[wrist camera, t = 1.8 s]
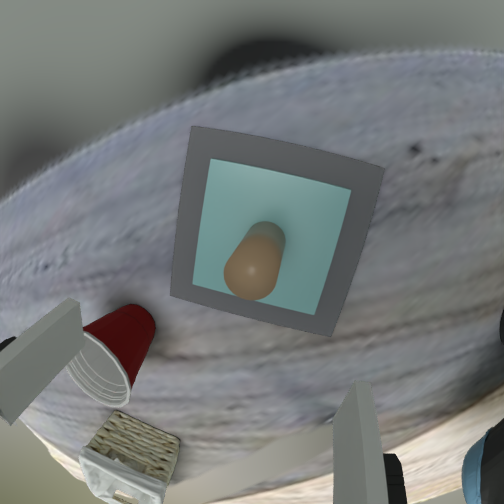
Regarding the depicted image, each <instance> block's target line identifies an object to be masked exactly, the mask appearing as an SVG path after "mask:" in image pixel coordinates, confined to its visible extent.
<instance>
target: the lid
mask: <svg viewBox="0 0 504 504" xmlns="http://www.w3.org/2000/svg"><path fill="white" fill-rule="evenodd" d="M350 194H351V189H348V188H345V187H341V186H337V185H333V184H330V183H326V182H322V181H318V180H314V179H310V178H306V177H302V176H297V175H293V174H289V173H284V172H280V171H276V170H271V169H266V168H262V167H257V166H252V165H247V164H242V163H237V162H232V161H226V160H221V159H215V158H211V160H210V166H209V172H208V178H207V184H206V190H205V196H204V203H203V209H202V216H201V223H200V230H199V237H198V244H197V251H196V259H195V267H194V275H193V283H192V284H194V285H197V286H201V287H205V288H208V289H212V290H216V291H219V292H223V293H227V294H231V295H234V296H238V297H240V298H242V299H245V300H254V301H258V302H262V303H266V304H270V305H274V306H278V307H282V308H286V309H290V310H294V311H299V312H303V313H307V314H311V315H314V314H315V311H316V308H317V305H318V302H319V299H320V296H321V293H322V290H323V287H324V284H325V281H326V278H327V274H328V271H329V268H330V265H331V261H332V258H333V255H334V251H335V248H336V245H337V241H338V238H339V234H340V231H341V227H342V224H343V220H344V216H345V213H346V209H347V205H348V201H349V197H350Z"/></svg>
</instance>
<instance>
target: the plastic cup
mask: <svg viewBox="0 0 504 504" xmlns="http://www.w3.org/2000/svg"><path fill="white" fill-rule="evenodd" d="M155 329H156V327H155V322H154V320H153V318H152V316H151V315H150V314H149V313H148V312H147V311H146V310H145V309H144V308H142V307H140V306H138V305H134V304H129V305H126V306H123V307H121V308H119V309H117V310H116V311H114V312H112V313H109V314H107V315H105V316H103V317H102V318H100V319H98V320H96V321H94V322H92V323H90V324H89V325H87V326H85V327H83V333H84V339H85V346H84V347H83V348H82V349H81V351H80V352H79V353H78V354H77V355H76V356H75V357H74V358H73V359H72V360H71V361H70V362H69V363H68V364H67V365H66V366H65V368H66V370H67V372H68V373H69V375H70V376H71V378H72V379H73V381H74V382H75V383H76V384H77V385H78V386H79V387H80V388H81V389H82V390H83V391H84V392H85V393H86V394H87V395H89V396H90V397H92V398H93V399H94V400H96V401H97V402H99V403H102V404H104V405H106V406H109V407H123V406H124V405H125V404H127V403H128V402H129V400H130V395H131V390H132V386H133V384H134V382H135V378H136V376H137V374H138V371H139V369H140V367H141V365H142V363H143V361H144V358H145V356H146V354H147V352H148V349H149V346H150V344H151V342H152V339H153V337H154V333H155Z"/></svg>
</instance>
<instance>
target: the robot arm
mask: <svg viewBox="0 0 504 504" xmlns="http://www.w3.org/2000/svg"><path fill="white" fill-rule="evenodd" d="M500 337H501V341H502V343H503V345H504V311H503V315H502V318H501V324H500ZM84 346H85V339H84V333H83V326H82V318H81V310H80V302H77V301H75V300H73V299H70V298H67V299H66V300H65V301H63V302H62V303H61V304H59V305H58V306H57V307H55V308H54V309H53V310H52V311H50V312H49V313H48V314H46V315H45V316H44V317H43V318H41V319H40V320H39V321H37V322H36V323H35V324H34V325H32V326H31V327H30V328H29V329H27V330H26V331H25V332H24V333H22V334H21V335H20V336H19V337H18V338H16V337H15V336H14V337H11V338H9V339H6V340H4V341H3V342H2V343H1V344H0V418H2V419H3V420H4V421H5V422H6V423H8V424H9V425H10V426H11V425H12V424H13V423H14V422H15V420H16V419H17V418H18V417H19V416H20V415H21V414H22V413H23V411H24V410H25V409H26V408H27V407H28V406H29V405H30V404H31V402H32V401H33V400H34V399H35V398H36V397H37V396H38V395H39V394H40V393H41V392H42V390H43V389H44V388H45V387H46V386H47V385H48V384H49V383H50V382H51V381H52V380H53V379H54V378H55V377H56V375H57V374H58V373H59V372H60V371H61V370H62V369H63V368H64V367H65V366H66V365H67V364H68V363H69V362H70V361H71V360H72V359H73V358H74V357H75V356H76V355H77V354H78V353H79V352H80V351H81V349H82V348H83V347H84ZM333 450H334V488H333V504H407V498H406V490H405V486H404V477H403V471H402V465H401V462H400V461H399V459H398V458H397V456H396V454H384V453H383V452H382V445H381V438H380V432H379V426H378V420H377V414H376V409H375V403H374V398H373V393H372V388H371V383H369V382H362V381H356V380H355V381H354V383H353V385H352V387H351V388H350V390H349V392H348V394H347V395H346V397H345V399H344V401H343V402H342V404H341V406H340V407H339V409H338V411H337V412H336V414H335V416H334V417H333ZM462 488H463V493H464V497H465V500H466V503H467V504H504V418H503V419H502V420H501V421H500V422H499V423H498V424H497V425H495V426H494V427H491V428H490V429H489V430H488V431H487V432H486V434H485V435H484V436H483V437H482V438H481V439H480V440H478V441H477V442H476V443H475V444H474V445H473V446H472V447H471V448H470V449H469V450H468V452H467V453H466V455H465V458H464V461H463V466H462Z"/></svg>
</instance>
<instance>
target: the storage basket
mask: <svg viewBox="0 0 504 504" xmlns="http://www.w3.org/2000/svg"><path fill="white" fill-rule="evenodd" d="M120 414H121V415H120ZM179 443H180V441H179V439H177V438H176V437H174V436H173V435H170V434H167V433H165V432H163V431H161V430H158V429H155V428H153V427H152V426H150V425H148V424H145V423H143V422H141V421H139V420H137V419H134V418H132V417H130V416H129V415H127V414H125V413H122V412H119V411H114V412H113V414H111V416H110V417H109V418H108V421H106V422H104V424H103V426H102V427H101V428H100V429H99V430H98V431H97V433H96V435H94V437H93V438H92V440H91V441H90V443H89V444H88V445H87V446H83V447H82V449H81V453H80V455H79V462H80V466H81V469H82V472H83V474H84V477H85V480H86V483H87V485H88V487H89V489H90V490H91V492H92V493H93V494H94V496H96V497H98V498H100V499H102V500H103V501H105V502H107V503H109V504H131V503H128V502H126V501H124V500H123V499H120V498H118V497H116V496H114V493H115V491H116V490H119V491H122V492H124V493H126V494H128V495H130V496H132V497H134V498H136V499H138V501H139V502H138V504H163V500H164V497H165V492H166V488H167V486H168V485H169V481H170V480H171V475H172V474H173V471H174V468H175V466H176V462H177V457H178V453H179ZM144 499H145V500H144Z"/></svg>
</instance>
